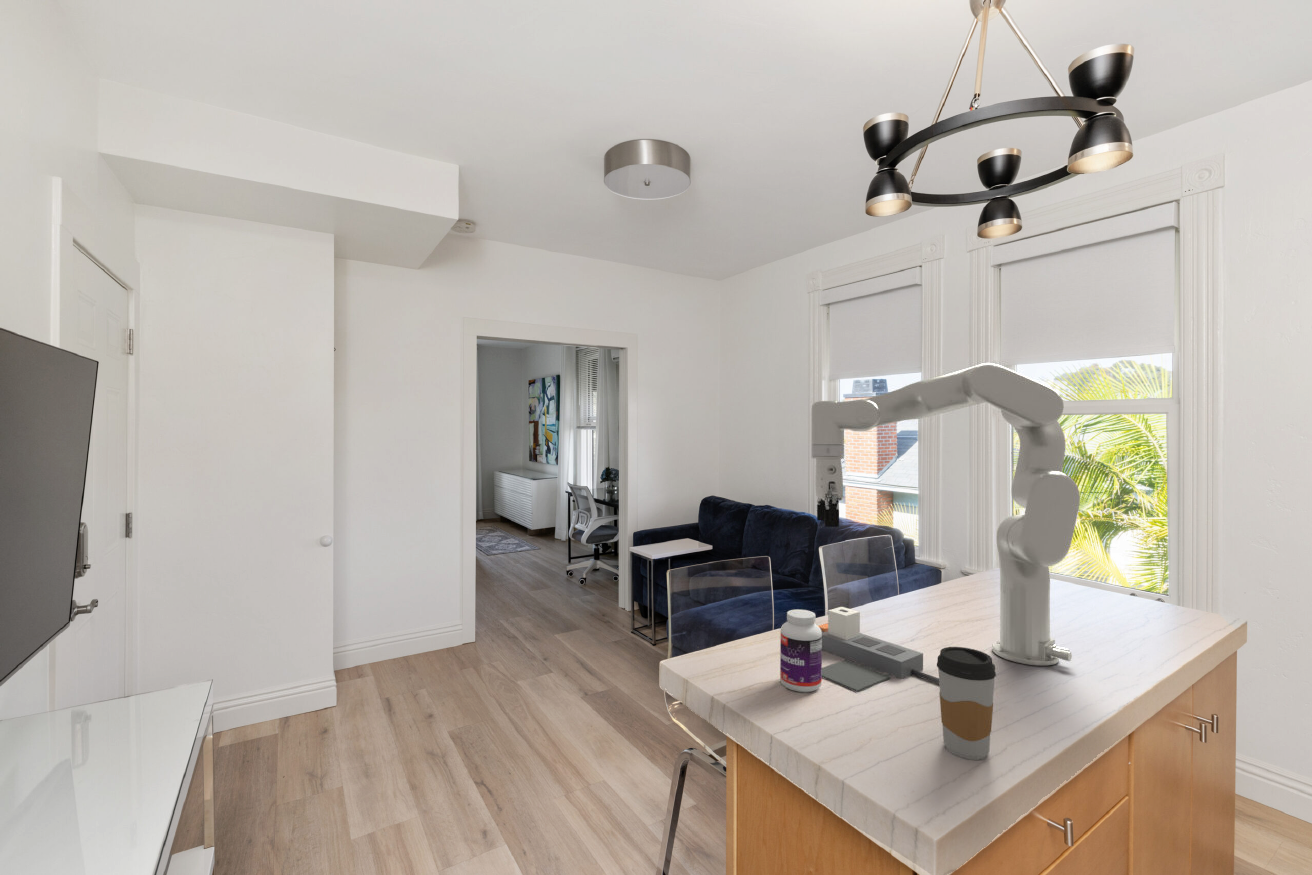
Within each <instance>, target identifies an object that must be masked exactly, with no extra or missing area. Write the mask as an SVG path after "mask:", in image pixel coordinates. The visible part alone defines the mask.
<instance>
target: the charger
mask: <svg viewBox="0 0 1312 875" xmlns="http://www.w3.org/2000/svg"><path fill="white" fill-rule="evenodd" d="M860 615H861V612H860V611H858V610H855V609H852V608H851V609H850V608H848V607H846V606H845V607H844V606H839V607H835V608H833V609H828V610H827V623H828V634H830V635H833V636H836V637H839V638H842V639H845V640H848V639H851V638H854V637H857V636H860V633H861V628H860V627H861V624H860V623H861V622H860V621H861V620H860V619H861V618H860V617H861V616H860Z"/></svg>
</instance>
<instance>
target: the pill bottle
mask: <svg viewBox="0 0 1312 875" xmlns="http://www.w3.org/2000/svg"><path fill="white" fill-rule="evenodd" d="M816 620H817V619H816V613H815V612H813V611H810V610H807V609H791V610H788V611H787V612H786V622H784V623H783V624H782V625H781V628H780V645H779V646H780V649H779V650H780V654H779V655H780V656H779V657H780V661H779V662H780V663H779V664H780V666H779V667H780V668H779V669H780V672H779V675H780V676H779V677H780V678H779V680H780V682H781V684H782V685H783V686H784V687H785V688H787V689H789V690H791V691H794V692H798V693H799V692H800V693H809V692H814V691H816V690H818V689H819V688H820V687H821V685H822V680H823V677H822V668H823V667H822V666H823V665H822V662H823V661H822V660H823V659H822V658H823V657H822V656H823V655H822V654H823V653H822V652H823V651H822V632H821V629H820V628H819V627H818V626H819V625H817V624H816Z"/></svg>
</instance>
